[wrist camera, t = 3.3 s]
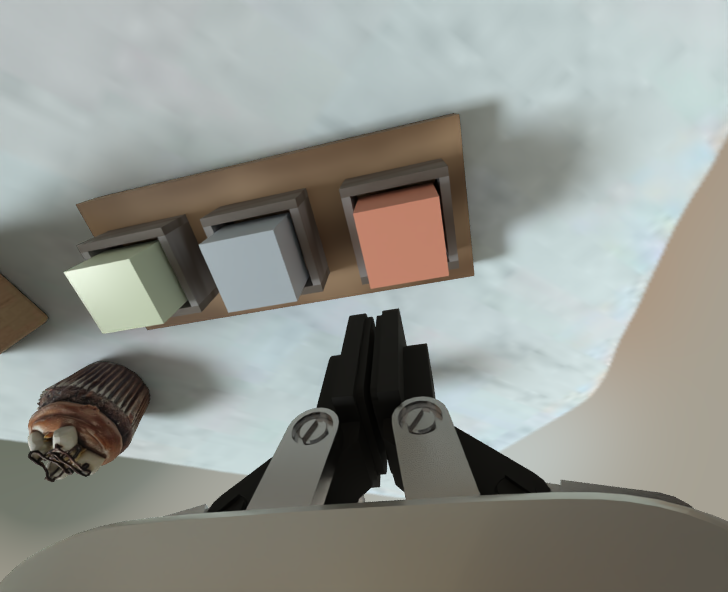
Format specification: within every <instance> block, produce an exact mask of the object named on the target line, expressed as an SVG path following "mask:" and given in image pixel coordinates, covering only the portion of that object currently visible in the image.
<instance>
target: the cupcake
mask: <svg viewBox="0 0 728 592" xmlns="http://www.w3.org/2000/svg"><path fill="white" fill-rule="evenodd" d="M42 393H43V394H41V395H40V397H41V398H40V399H39V401H40V402H39V403H37V404H38V405H39V407H38V408H37V409H38V411H36V412H35V413H34V414H33V415H32V417H31V418H30V420H29V424H28V428H29V436H28V445H29V448H30V453H29V454H28V458H29V459H30V460H32V461H33V462H34V463H35V464H37V465H40V466H42V467H43V468H44V470H45V472H46V477H45V479H47V480H48V481H51V482H54V481H55V480H56V479H63V478H65V477H66V476H68V475H71V474H73V473H74V471H75V472H76V473H77V474H80V475H82V476H85V477H87V476H89V475H90V474H94V473H95V472H96V471H98V469H99V468H100V466H102V465H105V464H107V463H109V462H111V461H113V460H114V459H115V458H116V457H117V456H118V455H119V454H121V453H122V452H123V451H124V450H125V449H126V448H127V447H128V446H129V444H130V443H131V440H132V438H133V436H134V433H135V431H136V429H137V427H138V425H139V422H140V420H141V418H142V416H143V414H144V412H145V411H146V409H147V407H148V405H149V401H150V394H149V389H148V387H147V386H146V385H145V384H144V383H143V381H142V379H141V378H140V377H139V376H138V375H137V374H136V373H135V372H133V371H131V370H129V369H128V368H126V367H124V366H122V365H118V364H115V363H110V362H96V363H93V364H90V365H88V366H86V367H84V368H83V369H81V370H79V371H77V372H76V373H74V374H72V375H71V376H69V377H67V378H65V379H63V380H61V381H60V382H58V383H56V384H54V385H52V386H51V387H49V388H47V389H45V391H43V392H42ZM41 460H44V461H47V460H48V461H49V463H48V464H47V466H45V465H44V464H43V462H41Z"/></svg>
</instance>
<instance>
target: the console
mask: <svg viewBox="0 0 728 592" xmlns="http://www.w3.org/2000/svg"><path fill="white" fill-rule="evenodd" d="M427 183H433V185H434V187H435V189H436V191H437V193H438V195H439V200H440V208H441V216H442V223H443V231H444V239H445V247H446V255H447V263H448V271H449V276H445V277H439V278H433V279H427V280H421V281H415V282H409V283H403V284H397V285H391V286H385V287H379V288H373V289H371V288H370V284H369V279H368V275H367V271H366V267H365V262H364V258H363V254H362V250H361V246H360V241H359V237H358V233H357V229H356V224H355V220H354V216H353V212H354V209H355V206H356V204H357V201H358V198H360V197H365V196H370V195H375V194H379V193H384V192H389V191H394V190H399V189H403V188H408V187H413V186H418V185H423V184H427ZM76 206H77V208H78V210H79V211H80V213H81V215H82V217H83V218H84V220H85V222H86V224H87V225H88V227H89V229H90V231H91V232H92V234H93V236H94V238H92V239H90V240H87V241H85V242H83V243H81V244H79V245H76V246H77V248H78V249H79V251H80V253H81V254H82V256H83V258H84V259H85V261H86V260H88V259H90V258H92V257H94V256H96V255H98V254H99V253H101V252H103V251H106V250H111V249H116V248H121V247H126V246H130V245H135V244H140V243H145V242H149V241H154V240H159V242H160V244H161V246H162V248H163V250H164V252H165V254H166V256H167V258H168V260H169V262H170V264H171V266H172V268H173V270H174V272H175V274H176V276H177V278H178V280H179V282H180V284H181V286H182V288H183V291H184V293H185V295H186V297H187V299H188V300H187V301H186V302H185V303H184V304H183V305H182V306H181V307H180V308H179V309H178V310H177V311H176V312H175V313H174V314H173V315H172V316H171V317H170V318H169V319H168V320H167V321H166V322H165V323H164V324H159V325H153V326H147V327H146V329H147V330H151V329H157V328H163V327H169V326H175V325H181V324H187V323H193V322H199V321H205V320H211V319H217V318H223V317H229V316H235V315H241V314H247V313H253V312H259V311H265V310H271V309H277V308H283V307H289V306H295V305H301V304H307V303H313V302H319V301H325V300H331V299H337V298H343V297H349V296H355V295H361V294H367V293H373V292H379V291H385V290H392V289H398V288H404V287H410V286H416V285H422V284H428V283H434V282H440V281H446V280H452V279H458V278H464V277H470V276H474V266H473V256H472V245H471V234H470V224H469V213H468V202H467V192H466V181H465V170H464V160H463V149H462V138H461V128H460V117H459V114H455V113H453V114H449V115H444V116H440V117H436V118H432V119H428V120H423V121H419V122H415V123H411V124H406V125H402V126H398V127H394V128H389V129H385V130H381V131H377V132H372V133H368V134H364V135H360V136H355V137H351V138H347V139H343V140H339V141H334V142H330V143H326V144H322V145H317V146H313V147H309V148H305V149H300V150H296V151H292V152H288V153H283V154H279V155H275V156H271V157H266V158H262V159H258V160H254V161H250V162H245V163H241V164H237V165H233V166H228V167H224V168H220V169H216V170H211V171H207V172H203V173H199V174H194V175H190V176H186V177H182V178H177V179H173V180H169V181H165V182H161V183H156V184H152V185H148V186H144V187H139V188H135V189H131V190H127V191H122V192H118V193H114V194H110V195H105V196H101V197H97V198H94V199H91V200H88V201H85V202H82V203H79V204H76ZM288 212H289V213H290V217H291V220H292V223H293V226H294V229H295V233H296V236H297V239H298V242H299V245H300V248H301V252H302V255H303V258H304V261H305V264H306V268H307V271H308V274H309V278H308V280H307V282H306V284H305V286H304V288H303V290H302V292H301V295H300V297H299V299H298V301H296V302H290V303H284V304H278V305H272V306H266V307H260V308H254V309H248V310H242V311H236V312H230V313H228V311H227V308H226V306H225V304H224V301H223V299H222V297H221V295H220V292H219V290H218V288H217V286H216V283H215V281H214V279H213V277H212V274H211V272H210V270H209V268H208V265H207V263H206V261H205V259H204V256H203V254H202V252H201V250H200V247H199V244H200V243H202V242H203V241H204V240H206V239H207V238H208V237H210V236H211V235H212V234H214V233H215V232H217V231H218V230H219V229H221V228H222V227H223V226H226V225H231V224H236V223H241V222H245V221H250V220H255V219H260V218H264V217H269V216H274V215H279V214H284V213H288Z"/></svg>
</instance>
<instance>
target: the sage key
mask: <svg viewBox="0 0 728 592" xmlns="http://www.w3.org/2000/svg"><path fill="white" fill-rule="evenodd" d="M64 274H65V275H66V277H67V278H68V280H69V282H70V283H71V285H72V286H73V288H74V289H75V291H76V292H77V294H78V296H79V297H80V299H81V300H82V302H83V303H84V305H85V307H86V308H87V310H88V311H89V313H90V314H91V316H92V318H93V319H94V321H95V322H96V324H97V325H98V327H99V329H100V330H101V332H102V333H103V334H105V333H111V332H117V331H123V330H129V329H135V328H141V327H147V326H153V325H159V324H164V323H165V322H166V321H167V320H168V319H169V318H170V317H171V316H172V315H173V314H174V313H175V312H176V311H177V310H178V309H179V308H180V307H181V306H182V305H183V304H184V303H185V302H186V301H187V300H188V299H187V297H186V295H185V293H184V291H183V288H182V286H181V284H180V282H179V280H178V278H177V276H176V274H175V272H174V270H173V268H172V266H171V264H170V262H169V260H168V258H167V256H166V254H165V252H164V250H163V248H162V246H161V244H160V242H159V240H154V241H149V242H145V243H140V244H135V245H130V246H126V247H121V248H116V249H111V250H106V251H103V252H101V253H99V254H98V255H96V256H94V257H92V258H90V259H88V260H86V261H84V262H82V263H80V264H78V265H76V266H75V267H73V268H71V269H69V270H67V271H65V272H64Z"/></svg>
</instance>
